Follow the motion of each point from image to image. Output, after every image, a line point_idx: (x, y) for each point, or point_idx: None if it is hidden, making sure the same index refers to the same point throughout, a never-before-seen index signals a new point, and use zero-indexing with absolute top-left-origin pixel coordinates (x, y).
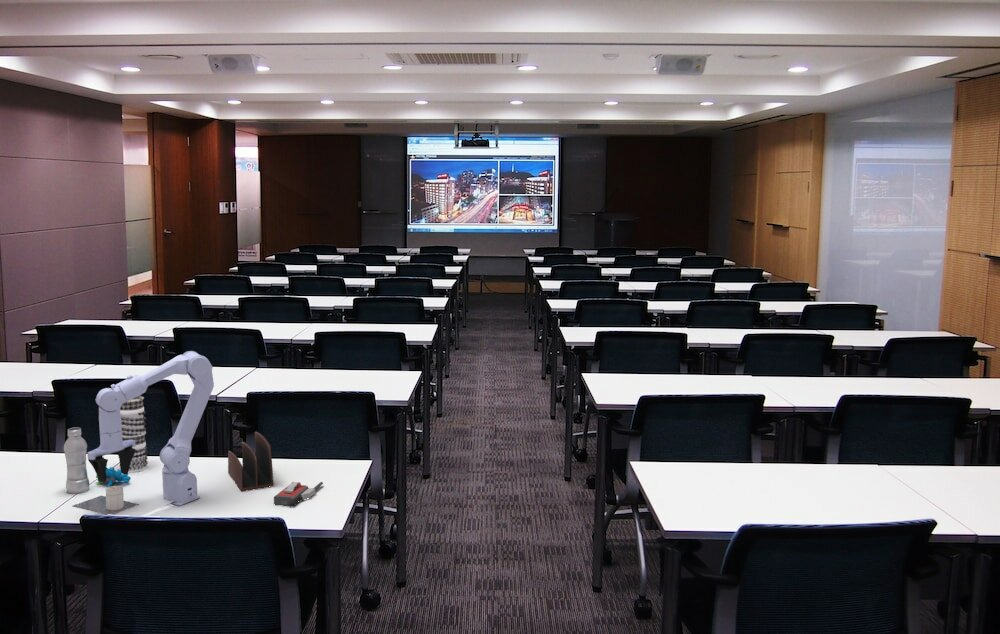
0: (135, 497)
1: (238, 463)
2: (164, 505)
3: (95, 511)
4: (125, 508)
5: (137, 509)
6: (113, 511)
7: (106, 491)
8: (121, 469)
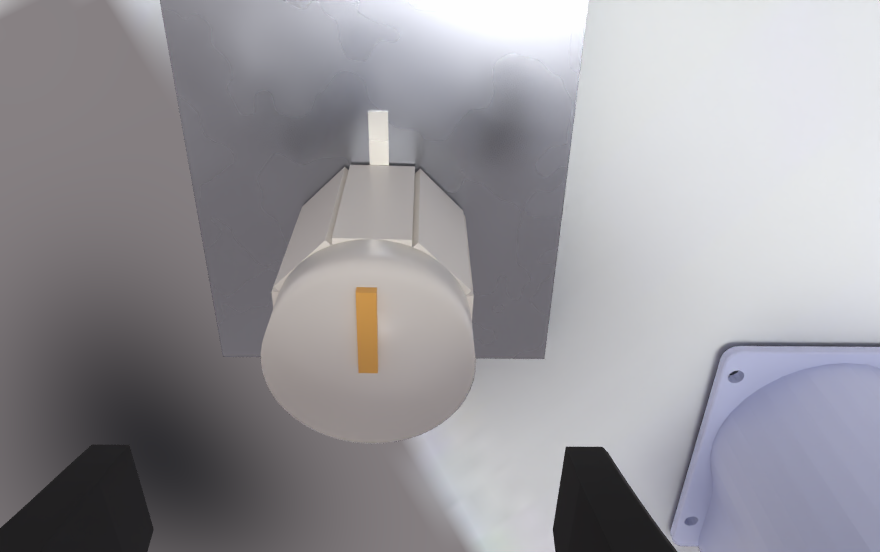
0: (774, 95)
1: None
2: (652, 448)
3: (196, 167)
4: None
5: None
6: None
7: (266, 332)
8: (581, 511)
